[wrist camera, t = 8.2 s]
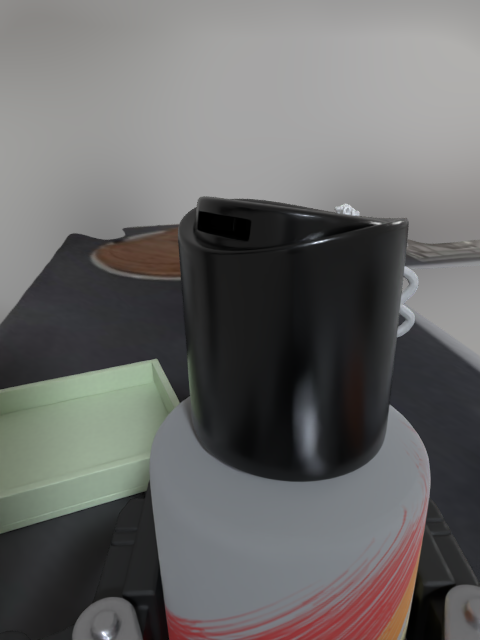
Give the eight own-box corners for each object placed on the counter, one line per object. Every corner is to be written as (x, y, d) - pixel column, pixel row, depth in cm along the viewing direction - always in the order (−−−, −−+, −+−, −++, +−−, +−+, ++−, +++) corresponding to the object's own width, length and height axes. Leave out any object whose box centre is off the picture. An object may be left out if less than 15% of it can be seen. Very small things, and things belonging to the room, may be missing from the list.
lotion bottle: (161, 796, 15) (56, 193, 8) (279, 675, 19) (287, 171, 11) (278, 1029, 11) (297, 246, 4) (402, 822, 15) (547, 186, 7)
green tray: (-59, 551, 25) (-72, 517, 24) (-27, 422, 36) (-35, 396, 35) (203, 474, 30) (201, 443, 29) (159, 382, 41) (157, 358, 40)
